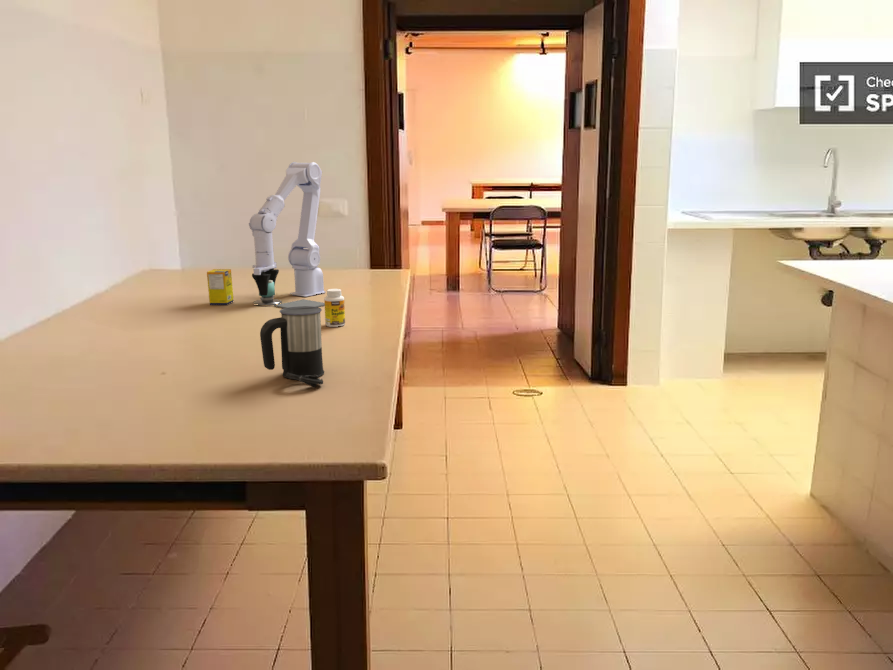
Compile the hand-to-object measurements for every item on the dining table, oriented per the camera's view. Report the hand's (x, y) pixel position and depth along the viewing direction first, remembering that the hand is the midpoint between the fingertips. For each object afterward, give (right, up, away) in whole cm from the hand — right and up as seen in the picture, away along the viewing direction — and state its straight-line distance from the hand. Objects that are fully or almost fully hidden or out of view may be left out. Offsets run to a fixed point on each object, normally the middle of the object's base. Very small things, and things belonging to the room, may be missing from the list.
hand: (266, 293), depth 256 cm
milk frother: (+27, -23, -82) cm, 90 cm away
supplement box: (-15, -3, +2) cm, 15 cm away
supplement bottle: (+26, -11, -31) cm, 42 cm away
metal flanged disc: (0, -3, +1) cm, 3 cm away
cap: (0, 0, 0) cm, 0 cm away
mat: (+12, -4, -4) cm, 13 cm away
